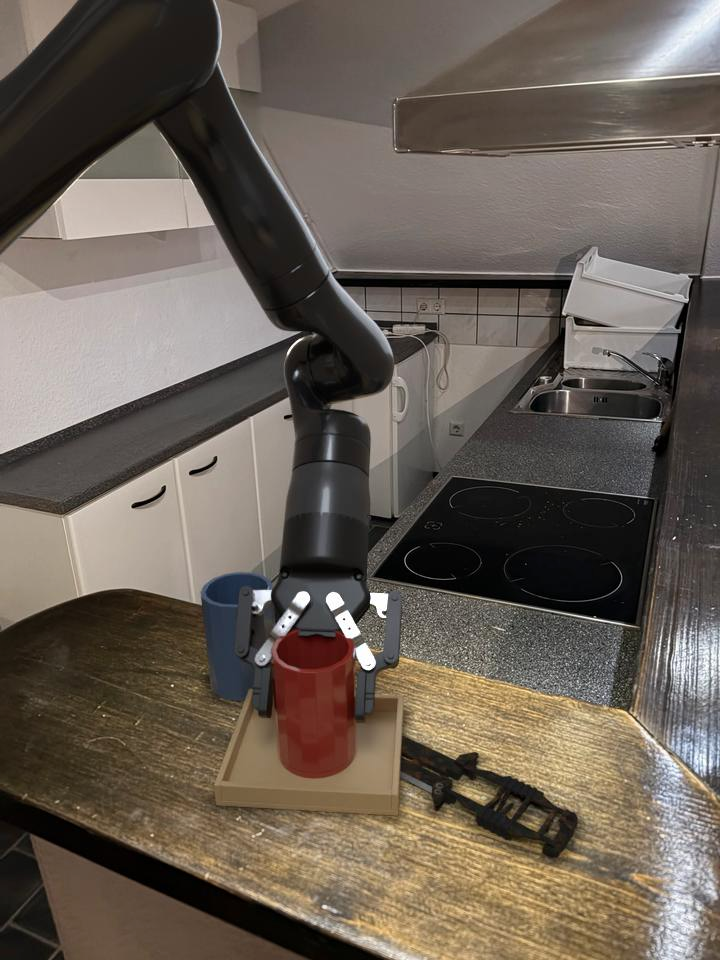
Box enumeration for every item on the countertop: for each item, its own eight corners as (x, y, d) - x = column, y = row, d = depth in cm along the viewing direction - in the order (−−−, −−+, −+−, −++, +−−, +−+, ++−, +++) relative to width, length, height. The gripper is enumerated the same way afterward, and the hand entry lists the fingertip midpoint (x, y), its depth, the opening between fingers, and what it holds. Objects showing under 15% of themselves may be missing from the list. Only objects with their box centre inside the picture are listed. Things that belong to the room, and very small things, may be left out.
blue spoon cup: (202, 699, 71) (192, 605, 67) (220, 659, 77) (211, 571, 73) (270, 702, 70) (264, 607, 67) (283, 661, 76) (278, 573, 73)
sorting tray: (215, 805, 59) (213, 785, 58) (250, 707, 70) (248, 688, 69) (397, 816, 57) (398, 795, 57) (403, 713, 69) (403, 695, 68)
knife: (289, 725, 68) (288, 712, 68) (339, 691, 73) (338, 678, 72) (543, 881, 52) (544, 866, 52) (586, 825, 57) (587, 810, 56)
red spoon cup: (271, 776, 61) (263, 670, 57) (285, 723, 67) (279, 624, 63) (352, 780, 60) (349, 674, 57) (359, 726, 66) (357, 627, 63)
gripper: (237, 506, 64) (211, 709, 58) (407, 510, 63) (402, 717, 56) (255, 537, 71) (234, 721, 64) (409, 541, 70) (403, 729, 63)
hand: (312, 719), depth 60 cm, fingers open, 7 cm apart
